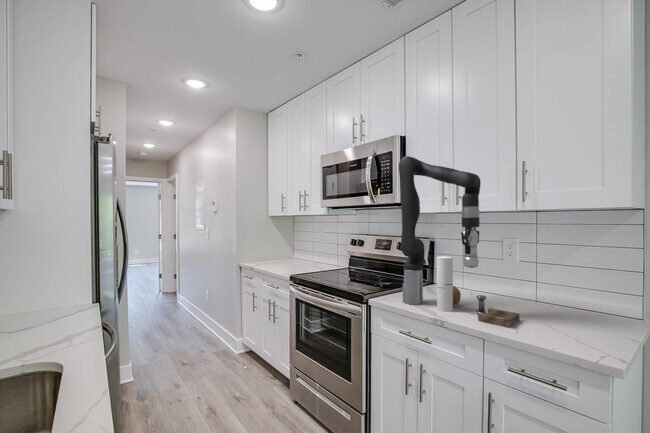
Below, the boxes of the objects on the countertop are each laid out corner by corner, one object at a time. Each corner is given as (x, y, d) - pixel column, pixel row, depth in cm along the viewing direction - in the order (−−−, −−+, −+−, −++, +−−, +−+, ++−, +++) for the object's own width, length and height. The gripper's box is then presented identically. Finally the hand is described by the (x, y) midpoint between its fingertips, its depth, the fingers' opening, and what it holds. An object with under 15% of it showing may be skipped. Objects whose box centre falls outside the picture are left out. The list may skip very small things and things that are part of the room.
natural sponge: (444, 302, 169) (444, 282, 169) (462, 304, 164) (462, 284, 164) (439, 306, 162) (439, 286, 162) (458, 308, 157) (458, 288, 157)
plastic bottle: (471, 269, 145) (471, 224, 145) (459, 267, 151) (459, 223, 151) (482, 268, 147) (481, 224, 147) (470, 266, 154) (470, 223, 154)
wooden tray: (478, 320, 139) (478, 313, 139) (489, 314, 148) (489, 307, 148) (509, 327, 130) (509, 320, 130) (519, 320, 139) (519, 313, 139)
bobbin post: (475, 313, 149) (475, 296, 149) (478, 312, 151) (478, 294, 151) (484, 315, 146) (484, 297, 146) (487, 313, 149) (487, 296, 149)
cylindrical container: (454, 311, 152) (453, 258, 152) (438, 311, 153) (437, 257, 153) (451, 307, 159) (451, 256, 159) (436, 307, 160) (435, 256, 160)
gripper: (469, 216, 157) (469, 251, 157) (455, 216, 147) (455, 254, 147) (485, 216, 152) (485, 253, 152) (471, 216, 142) (472, 255, 142)
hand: (470, 253), depth 149 cm, fingers closed on plastic bottle, 5 cm apart
